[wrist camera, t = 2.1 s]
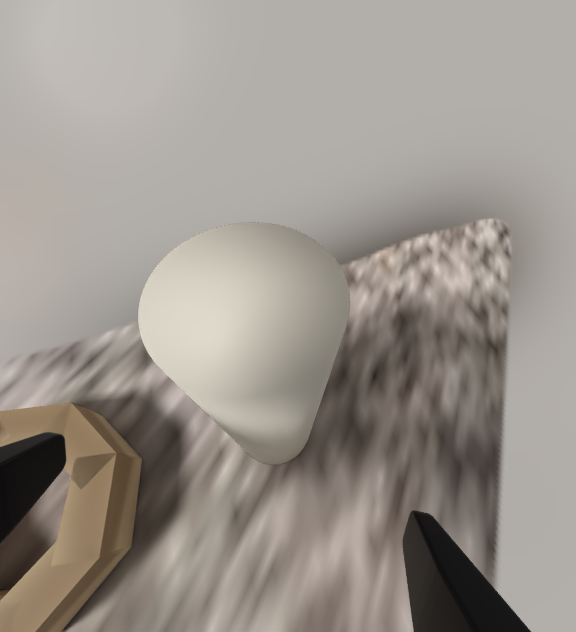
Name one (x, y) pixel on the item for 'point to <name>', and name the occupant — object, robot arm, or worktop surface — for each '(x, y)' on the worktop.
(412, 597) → the robot arm
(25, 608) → the tan open ring
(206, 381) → the dowel
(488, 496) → the worktop surface
